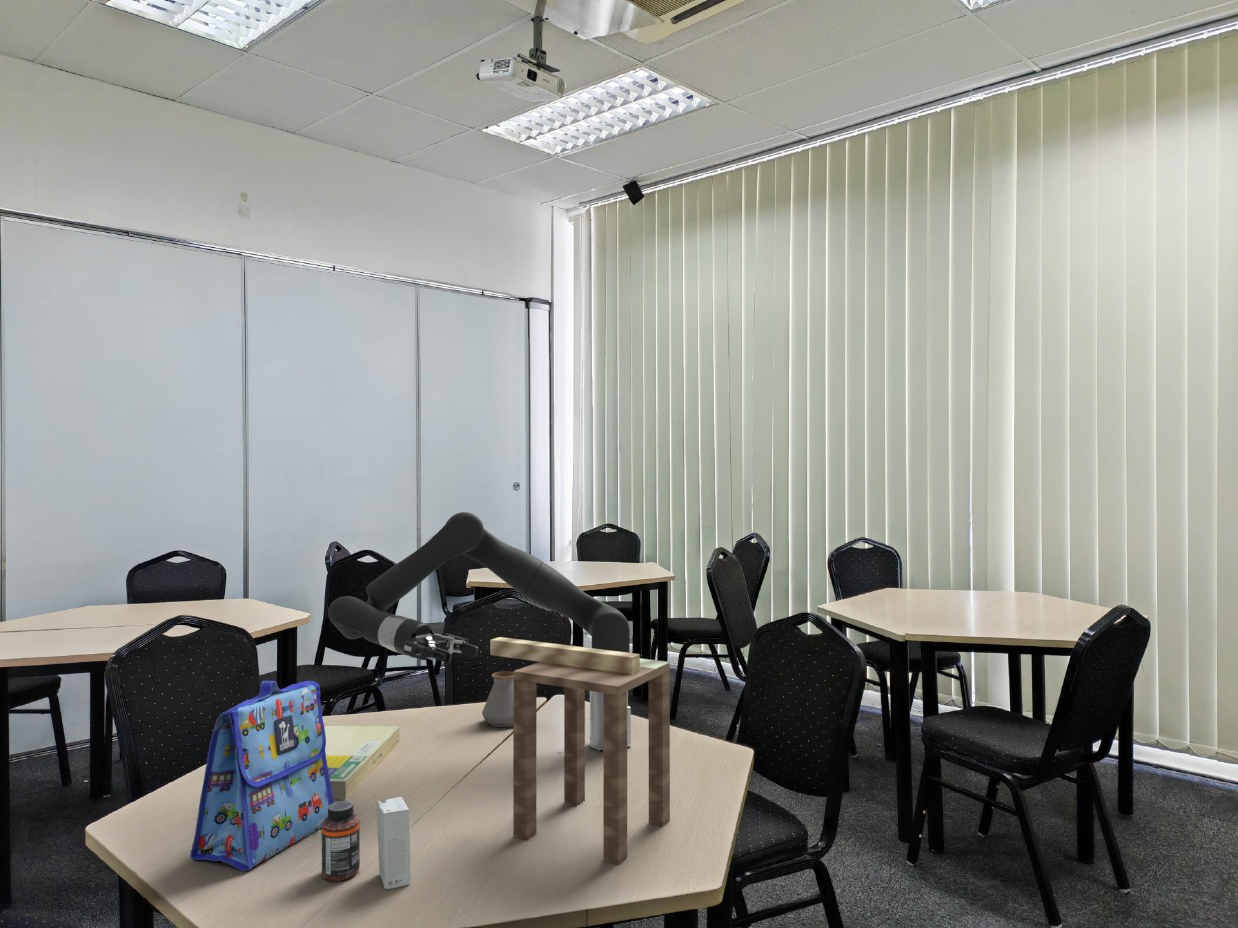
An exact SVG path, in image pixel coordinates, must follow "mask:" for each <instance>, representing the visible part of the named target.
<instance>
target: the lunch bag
mask: <svg viewBox="0 0 1238 928" xmlns="http://www.w3.org/2000/svg"><path fill="white" fill-rule="evenodd" d="M322 710H323V709H322V704H321V687H320V684H319V683H317V682H316V681H314V680H305V681H302V682H299V683H293V684H290V685H288V686H286V687H283V688H281V689H280V688H279V687H278V683H277V681H276V680H263V681H261V682H260V686H259V692H258V695H257V696H255V697H253V698H250V699H246V700H244V701H242V702H241V703H238V704H236V705H235V706H233V707H230V708H229V709H227V710H226V711H224V712H222V713H220V715H219V716H218V717H217V719H216V720H215V724H214V727H213V731H212V734H211V739H210V743H209V747H208V753H207V759H206V765H205V770H204V776H203V783H202V788H201V793H200V797H199V805H198V811H197V818H196V819H197V820H196V826H195V830H194V831H195V832H194V837H193V841H192V845H191V848H190V859H192V860H193V861H201V860H202V861H205V860H206V861H211V862H218V861H221V862H223V863H225V864H228V865H230V866H232V867H234V868H236V869H238V870H240V871H242V870H243V871H242V872H247V871H250V870H252V869H253V868H254V867H256V866H257V865H259V864H261V863H262V862H264V861H266V860H268V859H269V858H271V857H274V855H276V854H278V853H280V852H282V851H283V850H285V849H287V848H288V846H289V847H290V846H292V845H294V844H295V843H297V842H298V841H300V840H303V838H305V837H307V836H309V835H310V834H312V833H314V832H316V831H318V830H320V829H322V823H323V821H324V820H325V819H326V818H327V817H328V806H329V805H330V804H332V803H334V800H333V796H332V790H331V783H330V777H329V772H328V765H327V759H326V752H325V747H326V735H325V728H324V726H325V724H324V720H323V714H322V713H323V712H322Z"/></svg>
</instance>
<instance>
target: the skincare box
mask: <svg viewBox="0 0 1238 928" xmlns="http://www.w3.org/2000/svg"><path fill="white" fill-rule="evenodd" d="M376 809H377V837H378V838H377V839H378V840H377V841H378V843H377V844H378V872H379V873H378V874H379V876H380V879H381V882H382V884H383V888H384V889H385V890H391V889H396V888H401V887H405V886H408V885H411V880H412V879H411V847H410V846H411V843H410V809H409V807H408V805H407V804H406V802H405V801H404V798H403V797H402V796H399V797H393V798H389V799H383V800H379V801H377V808H376Z"/></svg>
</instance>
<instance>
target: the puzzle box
mask: <svg viewBox="0 0 1238 928" xmlns="http://www.w3.org/2000/svg"><path fill="white" fill-rule="evenodd" d="M324 728H325V735H326V747H325V752H326V759H327V765H328V772H329V777H330V783H331V790H332V796H333V801H347V799H348V798H349V797H350V796H351V795H352V794H353V793H354V792H355V791H356V790H357V788H359V786H360V785H361V784H362V783H364V781H365V780H366V779H367V778H368V777H369V776H370V775H371V773H372V772H374V770H375V769H376V768H377V767H378V766H379V765H380V764H381V763H382V762H383V761H384V759H386V757H387V756H389V754H390V753H391V752H392V751H393V750H394V749H393V748H396V746H397V745H398V744H399V743H400V726H397V725H395V726H392V725H387V726H386V725H380V726H379V725H324ZM381 761H382V762H381Z"/></svg>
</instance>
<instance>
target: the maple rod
mask: <svg viewBox="0 0 1238 928" xmlns="http://www.w3.org/2000/svg"><path fill="white" fill-rule="evenodd" d="M489 643H490V647H489V648H490V655H491V656H496V657H502V658H503V657H504V658H510V659H520V660H526V661H531V662H533V661H534V662H546V663H554V664H561V665H568V666H576V667H583V668H590V669H598V670H605V671H612V672H620V673H627V674H633V673H636V672H638V671H640V658H641V657H640V655H641V654H639V653H632V652H630V653H626V652H618V651H609V650H601V649H593V648H592V647H583V646H576V645H568V644H561V643H560V644H559V643H551V642H543V641H536V640H534V641H532V640H527V639H518V638H509V637H501V636H499V637H495V638H492V639H490V641H489Z"/></svg>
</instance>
